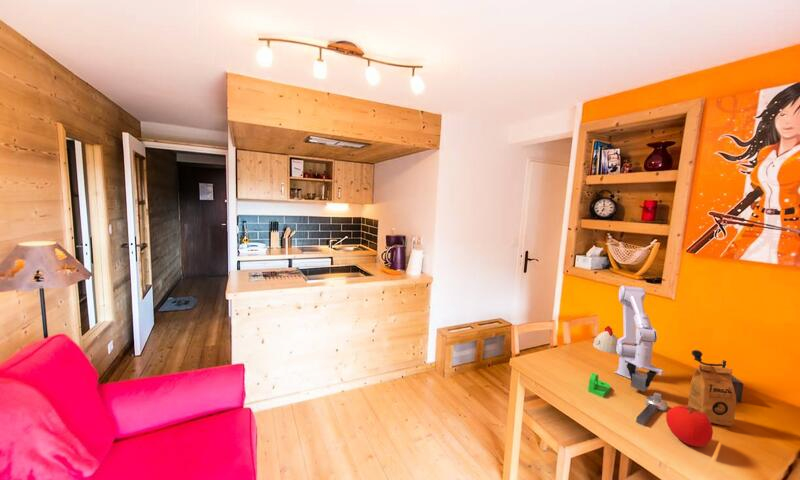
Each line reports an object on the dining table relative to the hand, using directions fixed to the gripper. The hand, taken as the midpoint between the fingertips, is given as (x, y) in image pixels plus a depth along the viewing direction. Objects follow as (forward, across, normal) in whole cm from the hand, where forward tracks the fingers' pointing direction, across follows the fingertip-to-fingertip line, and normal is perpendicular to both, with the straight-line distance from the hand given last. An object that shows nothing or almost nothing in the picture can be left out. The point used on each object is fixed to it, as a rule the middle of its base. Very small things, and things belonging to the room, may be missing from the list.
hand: (639, 383), depth 146 cm
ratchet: (+4, +8, -7) cm, 12 cm away
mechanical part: (+5, -11, -14) cm, 18 cm away
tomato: (+4, +21, -24) cm, 32 cm away
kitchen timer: (+5, -27, +38) cm, 47 cm away
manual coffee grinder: (+5, +20, +29) cm, 35 cm away
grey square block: (+2, 0, 0) cm, 2 cm away
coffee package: (+4, +23, 0) cm, 24 cm away
